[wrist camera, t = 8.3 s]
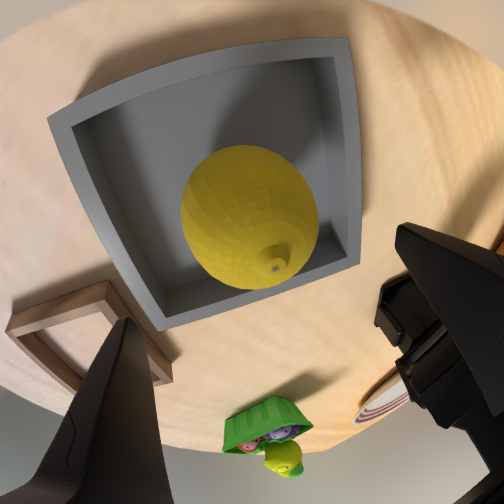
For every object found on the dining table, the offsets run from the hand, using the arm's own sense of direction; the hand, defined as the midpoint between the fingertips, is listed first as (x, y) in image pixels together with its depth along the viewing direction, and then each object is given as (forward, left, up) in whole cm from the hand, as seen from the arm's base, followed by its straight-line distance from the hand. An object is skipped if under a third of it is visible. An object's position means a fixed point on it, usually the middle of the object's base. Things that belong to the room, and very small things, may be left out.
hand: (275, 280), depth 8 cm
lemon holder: (+15, +10, -9) cm, 20 cm away
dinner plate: (-25, +51, -10) cm, 57 cm away
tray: (0, 0, -9) cm, 9 cm away
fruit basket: (+4, +34, -9) cm, 35 cm away
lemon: (0, 0, -9) cm, 9 cm away
